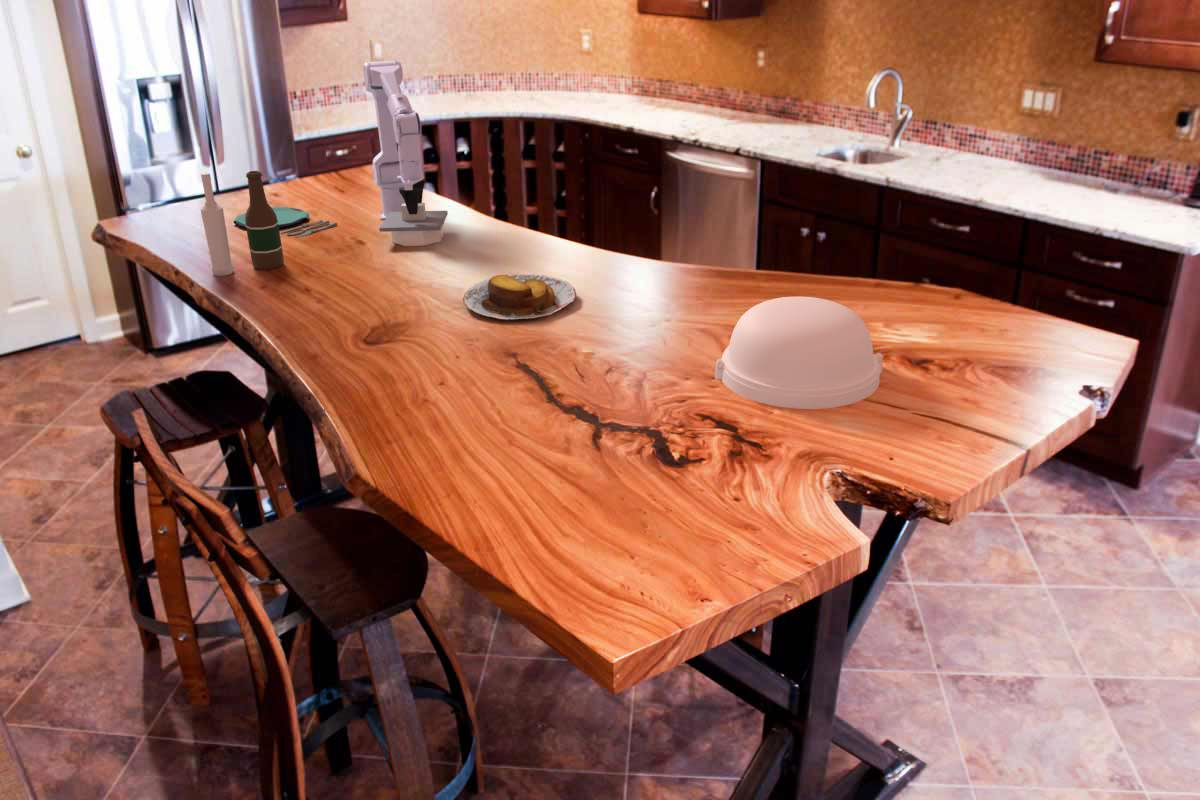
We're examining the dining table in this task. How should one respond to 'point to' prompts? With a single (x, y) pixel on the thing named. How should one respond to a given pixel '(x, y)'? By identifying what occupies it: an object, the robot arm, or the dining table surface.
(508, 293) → the food on plate
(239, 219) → the cutlery set
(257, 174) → the beer bottle
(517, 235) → the dining table surface
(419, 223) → the lid
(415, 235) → the bowl
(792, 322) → the dome cover
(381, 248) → the dining table surface
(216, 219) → the bottle
